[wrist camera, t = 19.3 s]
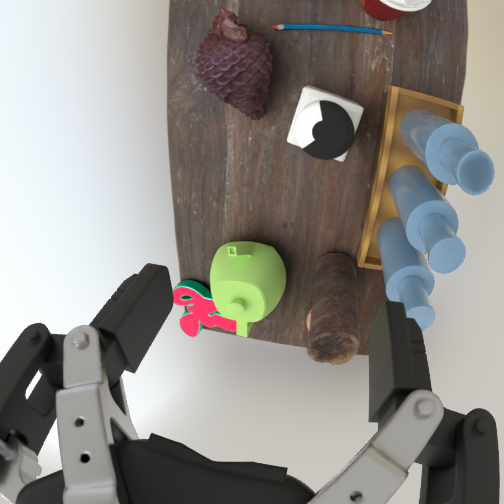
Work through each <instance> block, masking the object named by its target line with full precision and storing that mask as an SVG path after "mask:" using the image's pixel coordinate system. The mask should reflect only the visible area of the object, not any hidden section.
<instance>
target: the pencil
mask: <svg viewBox="0 0 504 504" xmlns="http://www.w3.org/2000/svg"><path fill="white" fill-rule="evenodd" d="M281 29H321V30H341V31H354V32H364V33H373V34H381V35H386V34H393V33H390V32H387V31H384V30H380V29H373V28H364V27H354V26H341V25H320V24H284V25H273V30H281Z"/></svg>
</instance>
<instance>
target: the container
mask: <svg viewBox="0 0 504 504" xmlns="http://www.w3.org/2000/svg"><path fill="white" fill-rule="evenodd" d="M363 111H364V109H363V107H361V106H360V105H359V104H358V103H357V102H355V101H352V100H350V99H347V98H345V97H342V96H339V95H337V94H334V93H331V92H328V91H326V90H323V89H320V88H317V87H314V86H311V85H308V86H306V87H304V88H303V90H302V94H301V97H300V100H299V103H298V106H297V109H296V112H295V116H294V119H293V122H292V125H291V128H290V131H289V134H288V137H287V141H288V142H289V143H291V144H294V145H297V146H300V147H301V148H302V149H303V150H304V151H305V152H306V153H307V154H309V155H311V156H312V157H315V158H318V159H323V160H329V159H335V160H338V161H341V162H343V161H344V160H345V158H346V155H347V153H348V150H349V148H350V147H351V145H352V143H353V140H354V135H355V132H356V130H357V127H358V124H359V122H360V119H361V116H362V114H363Z"/></svg>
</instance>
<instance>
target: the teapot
mask: <svg viewBox="0 0 504 504" xmlns="http://www.w3.org/2000/svg"><path fill="white" fill-rule="evenodd" d="M285 285H286V271H285V267H284V264H283V261H282V259H281V257H280V256H279V254H278V253H277V252H276V249H275V248H274V247H272V246H267V245H265V244H261V243H256V242H249V241H236V242H229V243H226V244H224V245H223V246H221V247H220V248H219V249H218V251H217V252H216V254H215V256H214V259H213V262H212V266H211V271H210V287H211V293H212V298H213V301H214V304H215V306H216V308H217V310H218V312H219V313H220V314H221V315H222V316H224V317H225V318H228V319H231V320H235V321H237V335H239V336H244V337H247V336H248V334H249V331H250V329H251V327H252V324H253V322H257V321H259V320H261V319H263V318H264V317H265V316H267V315H268V314H269V313H270V312H271V311H272V310H273V309H274V308H275V307H276V305H277V304H278V302H279V301H280V299H281V297H282V295H283V292H284V289H285Z"/></svg>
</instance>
